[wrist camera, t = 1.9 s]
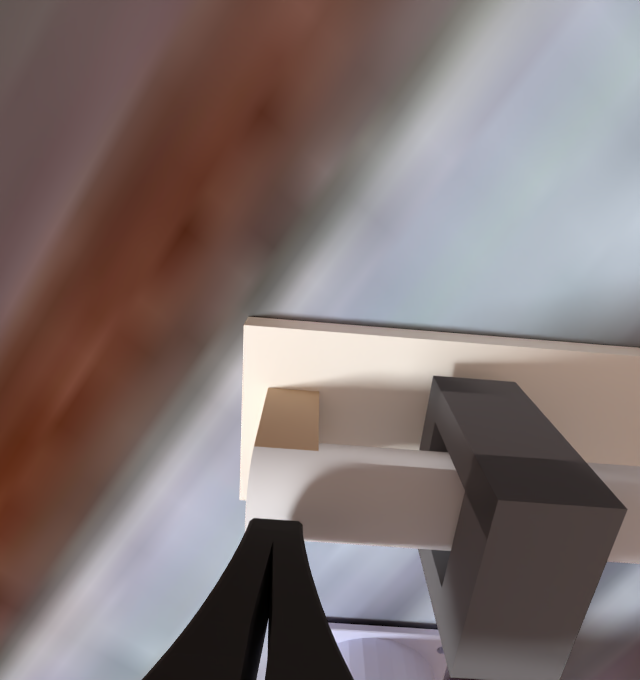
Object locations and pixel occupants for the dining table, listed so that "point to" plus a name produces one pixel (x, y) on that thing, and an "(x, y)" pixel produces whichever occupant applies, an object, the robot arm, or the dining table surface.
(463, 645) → the collar
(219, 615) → the robot arm
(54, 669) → the dining table surface
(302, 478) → the pipe stand
